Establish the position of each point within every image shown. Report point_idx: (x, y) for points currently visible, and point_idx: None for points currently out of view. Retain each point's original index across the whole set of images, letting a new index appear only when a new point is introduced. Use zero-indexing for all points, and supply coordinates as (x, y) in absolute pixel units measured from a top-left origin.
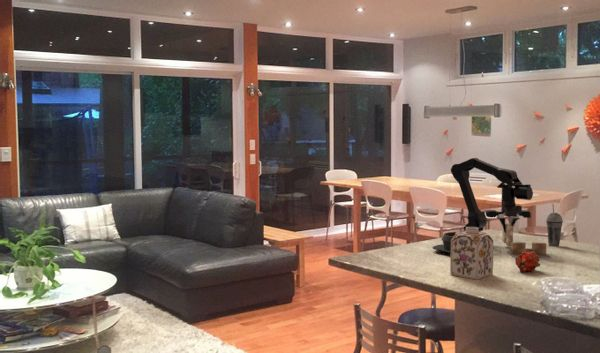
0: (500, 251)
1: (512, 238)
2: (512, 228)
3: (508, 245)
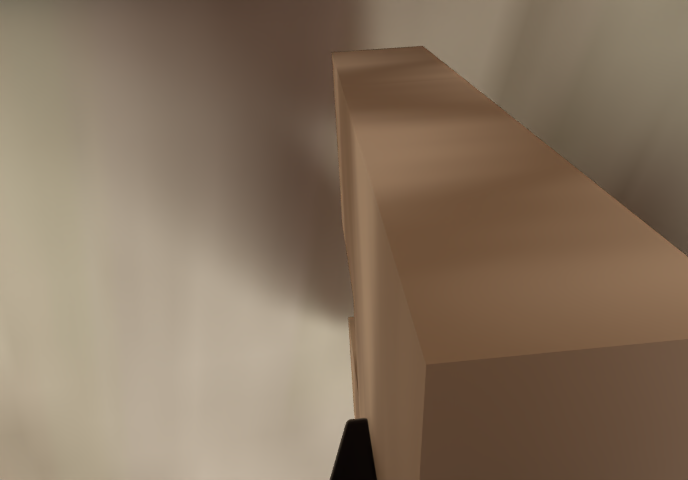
0: (511, 53)
1: (356, 97)
2: (431, 252)
3: (418, 50)
